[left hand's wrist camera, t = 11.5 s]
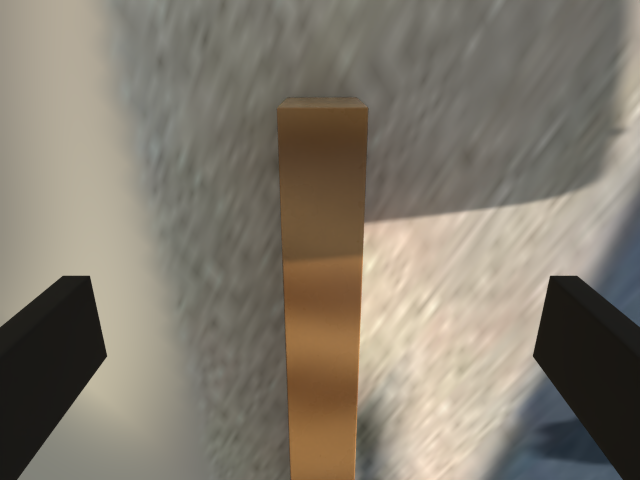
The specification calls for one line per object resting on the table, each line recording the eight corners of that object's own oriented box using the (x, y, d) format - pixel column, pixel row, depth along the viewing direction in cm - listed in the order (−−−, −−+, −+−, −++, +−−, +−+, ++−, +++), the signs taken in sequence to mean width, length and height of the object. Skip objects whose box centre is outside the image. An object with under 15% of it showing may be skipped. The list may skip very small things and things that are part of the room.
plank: (286, 97, 30) (276, 107, 23) (357, 97, 30) (368, 107, 23) (301, 613, 51) (298, 699, 44) (342, 613, 51) (346, 699, 44)
